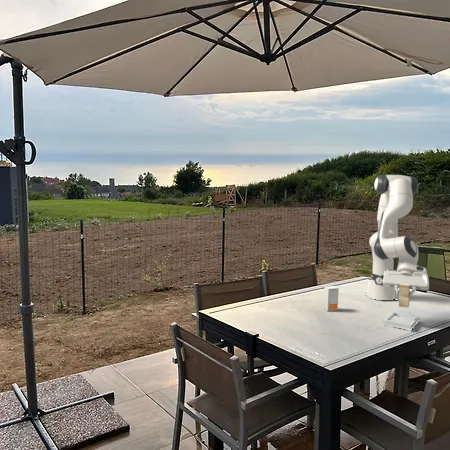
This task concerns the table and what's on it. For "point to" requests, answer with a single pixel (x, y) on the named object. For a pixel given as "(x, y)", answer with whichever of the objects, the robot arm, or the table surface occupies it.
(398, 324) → the tray
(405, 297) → the birch block
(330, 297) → the skincare box
